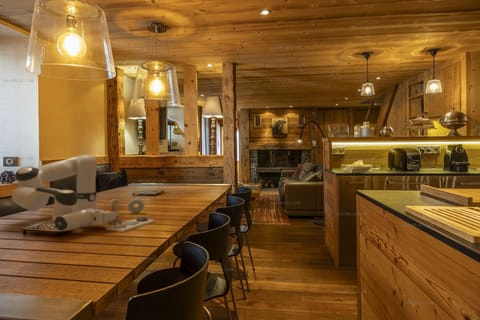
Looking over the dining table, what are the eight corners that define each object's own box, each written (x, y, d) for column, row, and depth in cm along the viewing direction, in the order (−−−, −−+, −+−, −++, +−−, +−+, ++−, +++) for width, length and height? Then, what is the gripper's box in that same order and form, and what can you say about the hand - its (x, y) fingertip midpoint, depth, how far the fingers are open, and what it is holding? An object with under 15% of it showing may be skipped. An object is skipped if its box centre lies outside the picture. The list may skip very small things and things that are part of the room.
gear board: (106, 229, 156) (106, 222, 156) (139, 219, 178) (139, 213, 178) (122, 232, 151) (122, 225, 151) (154, 222, 173) (154, 215, 173)
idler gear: (105, 223, 169) (105, 200, 168) (115, 221, 175) (115, 198, 174) (114, 225, 166) (114, 201, 165) (124, 222, 172) (124, 199, 171)
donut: (144, 212, 200) (143, 197, 199) (143, 213, 196) (143, 198, 196) (128, 212, 197) (128, 198, 197) (127, 214, 194) (127, 199, 193)
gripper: (76, 220, 159) (98, 215, 172) (102, 225, 150) (123, 219, 163) (76, 209, 159) (98, 204, 171) (102, 213, 150) (123, 208, 163)
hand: (110, 212), depth 167 cm, fingers open, 8 cm apart
